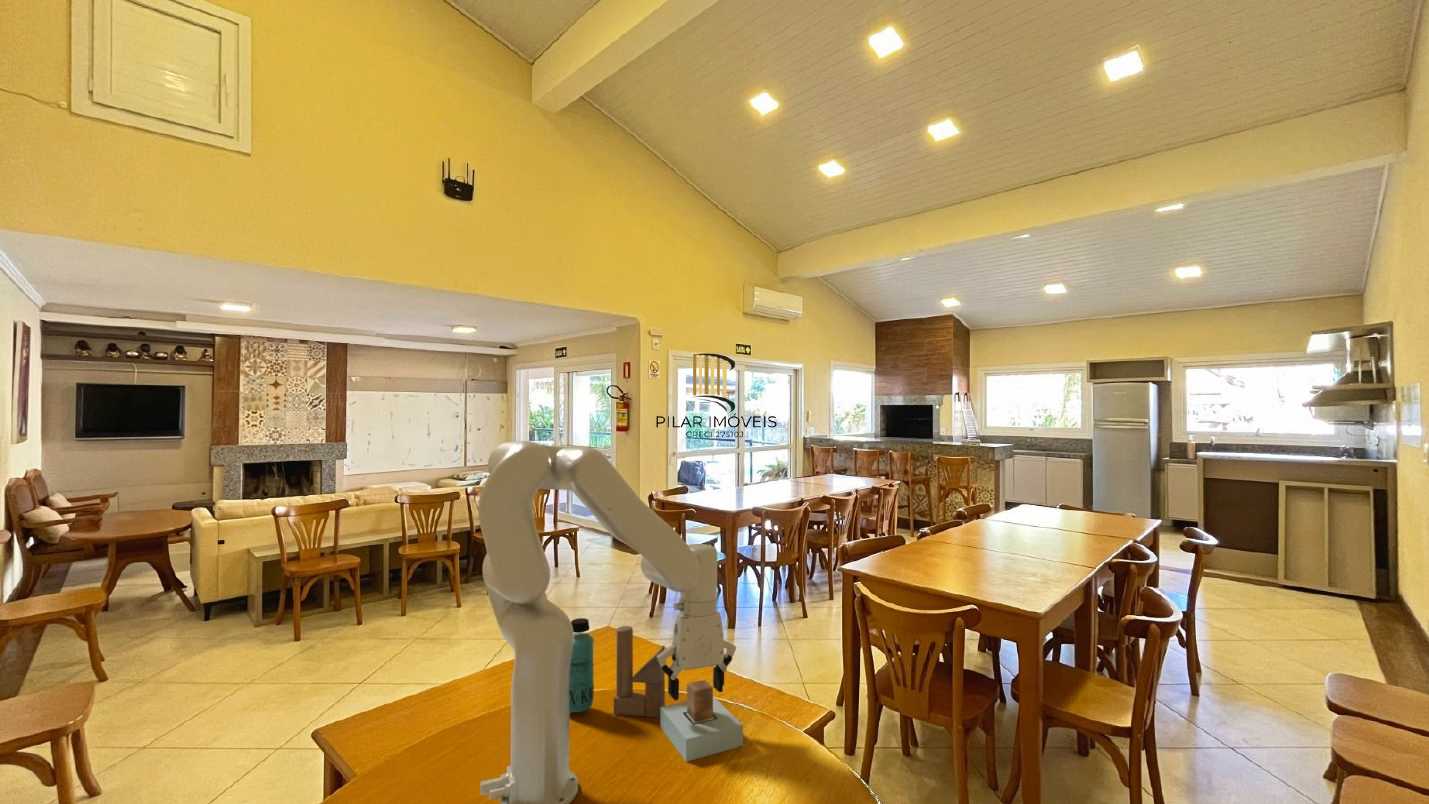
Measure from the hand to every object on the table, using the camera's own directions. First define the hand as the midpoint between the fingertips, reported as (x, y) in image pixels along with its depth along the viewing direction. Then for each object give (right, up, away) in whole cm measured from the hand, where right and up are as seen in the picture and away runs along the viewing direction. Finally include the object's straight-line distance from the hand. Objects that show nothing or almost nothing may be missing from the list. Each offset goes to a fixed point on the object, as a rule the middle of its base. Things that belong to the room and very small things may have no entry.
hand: (696, 693), depth 113 cm
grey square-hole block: (+1, -9, 0) cm, 9 cm away
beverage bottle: (-26, -10, +10) cm, 30 cm away
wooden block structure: (-13, -10, +10) cm, 19 cm away
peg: (+1, -9, 0) cm, 9 cm away
